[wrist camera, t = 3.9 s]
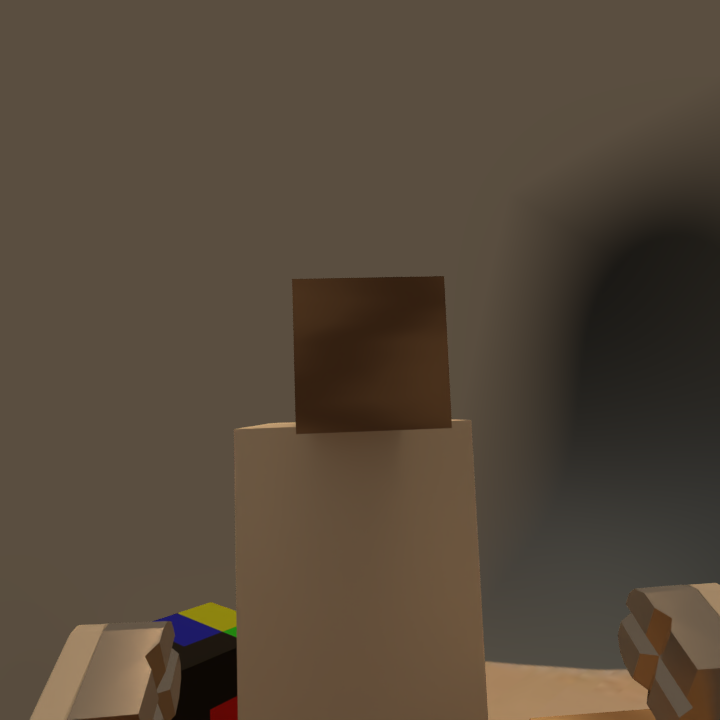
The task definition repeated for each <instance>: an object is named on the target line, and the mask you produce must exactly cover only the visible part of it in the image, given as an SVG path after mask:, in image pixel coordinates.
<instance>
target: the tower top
mask: <svg viewBox="0 0 720 720" xmlns="http://www.w3.org/2000/svg"><path fill="white" fill-rule="evenodd" d="M530 720H656V719H655V717H654V715H653V713H652V712H651V710H650V709H644V710H631V711H618V712H605V713H592V714H579V715H566V716H553V717H540V718H530Z"/></svg>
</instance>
